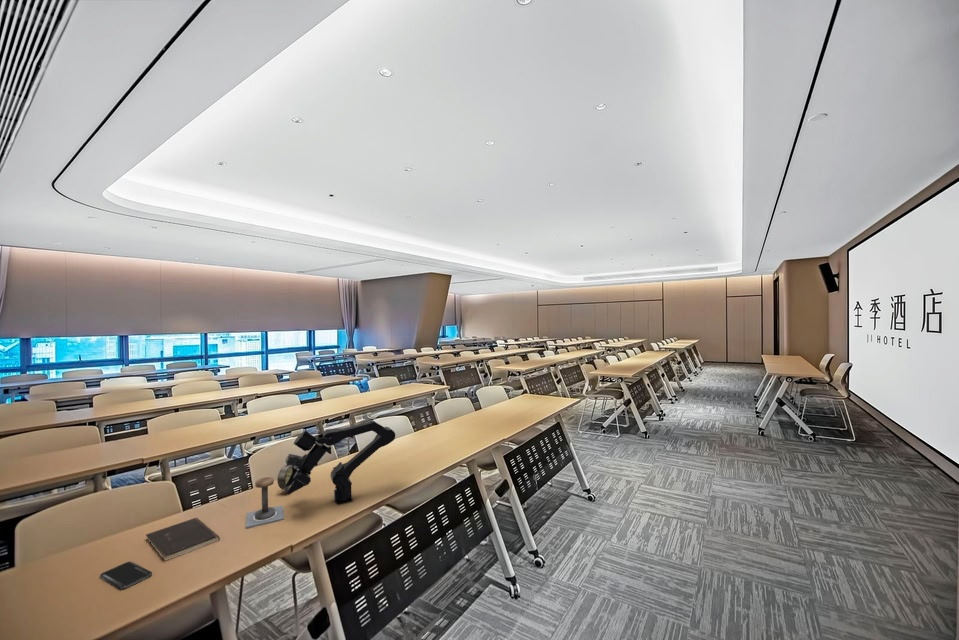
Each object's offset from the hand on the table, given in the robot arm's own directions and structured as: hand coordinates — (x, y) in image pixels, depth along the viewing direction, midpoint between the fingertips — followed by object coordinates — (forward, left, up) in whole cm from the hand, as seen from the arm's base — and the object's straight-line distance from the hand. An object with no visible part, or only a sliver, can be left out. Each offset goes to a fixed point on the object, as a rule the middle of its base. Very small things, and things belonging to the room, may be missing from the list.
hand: (286, 490), depth 162 cm
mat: (+8, -1, -9) cm, 12 cm away
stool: (+8, 0, -8) cm, 12 cm away
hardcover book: (+34, +3, -10) cm, 36 cm away
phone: (+46, +19, -10) cm, 51 cm away
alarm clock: (-2, -24, -9) cm, 25 cm away
